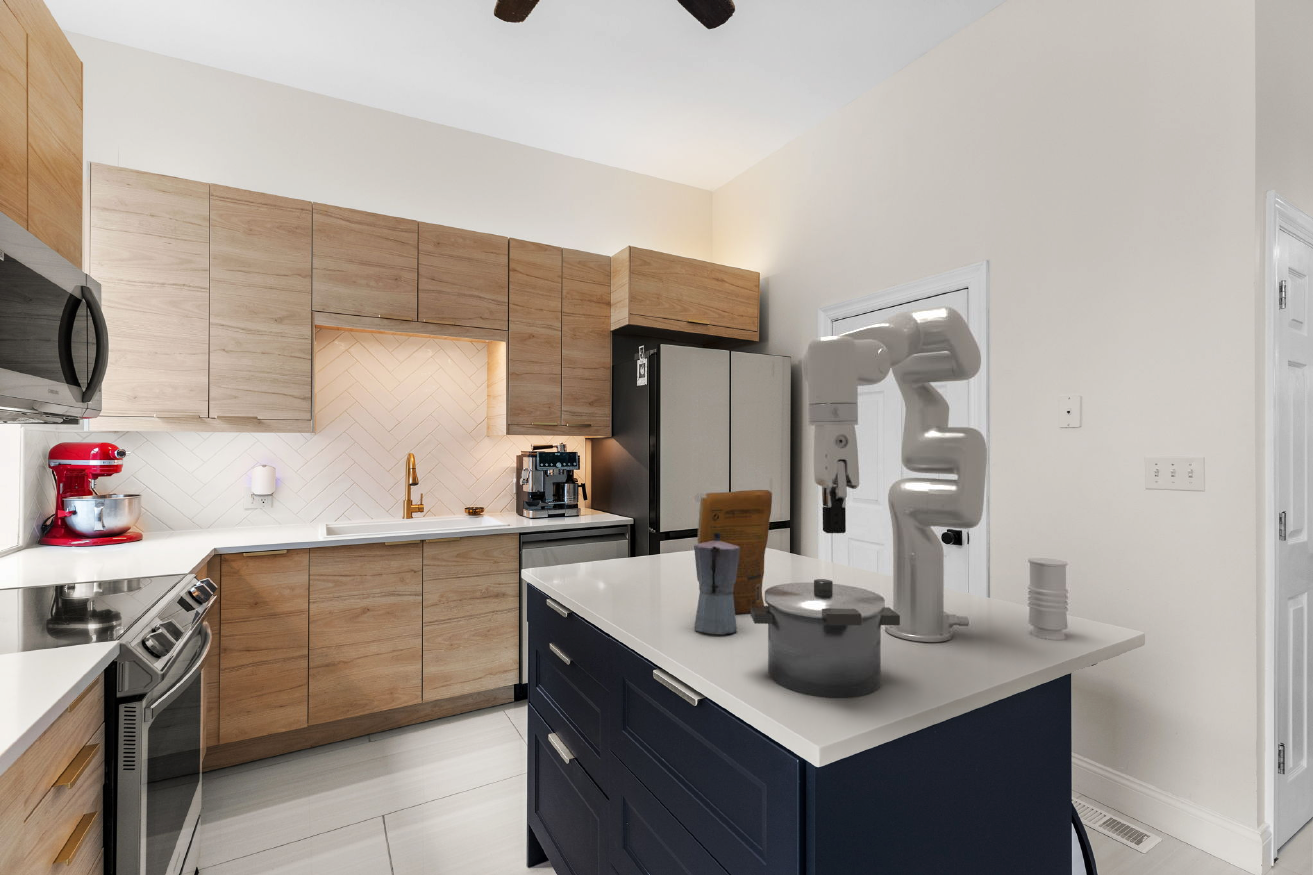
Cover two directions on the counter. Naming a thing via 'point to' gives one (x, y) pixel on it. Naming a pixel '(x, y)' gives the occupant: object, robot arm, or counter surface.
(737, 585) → the pancake mix bag
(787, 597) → the lid
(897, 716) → the counter surface
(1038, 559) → the grey ribbed canister
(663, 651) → the counter surface
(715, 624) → the moka pot
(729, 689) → the counter surface
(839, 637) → the cooker pot
